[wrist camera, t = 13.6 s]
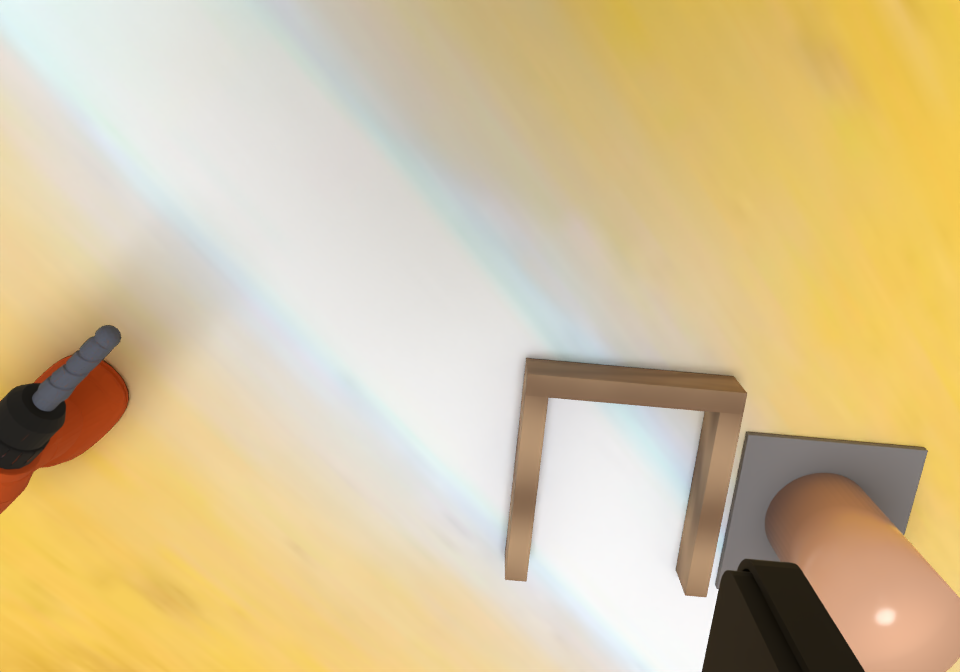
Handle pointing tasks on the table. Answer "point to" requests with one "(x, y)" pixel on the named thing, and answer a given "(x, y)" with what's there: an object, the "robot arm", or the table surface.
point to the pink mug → (866, 575)
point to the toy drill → (59, 413)
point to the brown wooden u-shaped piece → (644, 389)
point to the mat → (786, 458)
